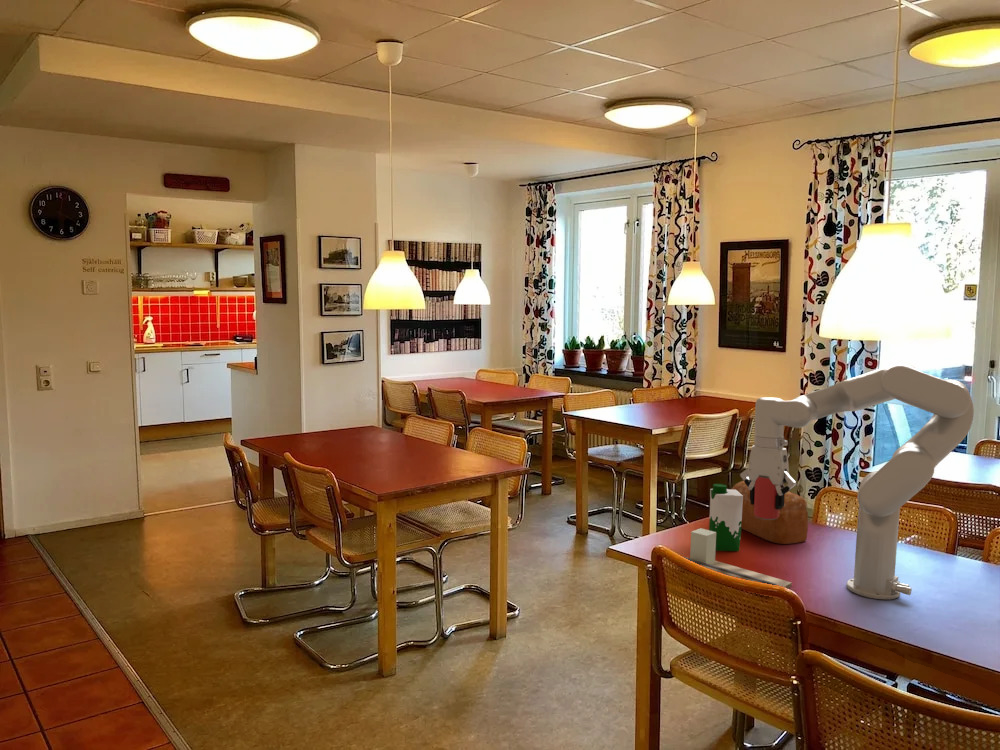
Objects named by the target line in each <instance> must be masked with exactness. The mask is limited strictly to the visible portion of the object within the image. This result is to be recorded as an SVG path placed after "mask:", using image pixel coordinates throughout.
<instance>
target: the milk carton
mask: <svg viewBox="0 0 1000 750" xmlns="http://www.w3.org/2000/svg"><path fill="white" fill-rule="evenodd" d="M709 497H710V499H709V520H708V521H709V522H708V524H709V525H708V530H710V531H714V532H716V550H715V552H739V551H740V547H741V536H742V529H741V523H742V504H743V495H742V494H740V493H739V492H738V491H737V490H732V488H731V489H729V488H728V486H727V485H726V484H724V483H714V484H712V488H710V489H709Z"/></svg>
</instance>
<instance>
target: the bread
mask: <svg viewBox="0 0 1000 750" xmlns="http://www.w3.org/2000/svg"><path fill="white" fill-rule="evenodd" d="M731 489H732V490H737V491H738V492H739V493H740V494H742V495H743V504H742V523H741V530H743V531H746V532H748V533H750V534H752V535H755V536H757V537H758V538H761V539H763V540H765V541H768V542H771V543H774V544H779V545H788V544H789V545H791V544H798V543H803V542H806V541H807V539H808V530H809V522H808V520H809V519H808V517H809V514H808V513H809V512H808V510H807V507H808V501H806V500H805V498H803V497H802V496H800V495H798V494H796V493H794V492H791V491H790V490H789V491H788V492H787V493H786V494H785V498H784V506H783V508H781V509H779V517H778V518H777V519H774V520H764V519H760V518H757V517H756V516H755V515H754V504H753V505H752V504H751V501H750V490H749V489H748V486H747V485H746V484H745V482H744V480H741V481H739V482H736V483H735V484H734V485H733V487H732V488H731Z"/></svg>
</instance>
